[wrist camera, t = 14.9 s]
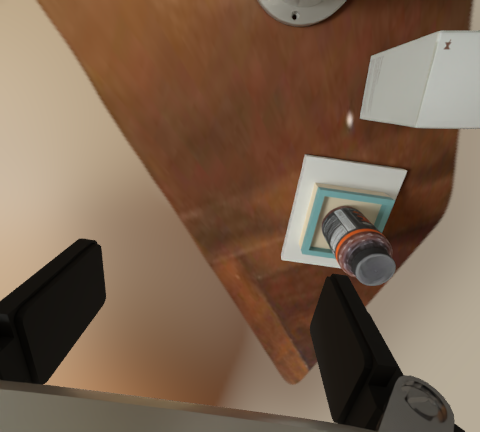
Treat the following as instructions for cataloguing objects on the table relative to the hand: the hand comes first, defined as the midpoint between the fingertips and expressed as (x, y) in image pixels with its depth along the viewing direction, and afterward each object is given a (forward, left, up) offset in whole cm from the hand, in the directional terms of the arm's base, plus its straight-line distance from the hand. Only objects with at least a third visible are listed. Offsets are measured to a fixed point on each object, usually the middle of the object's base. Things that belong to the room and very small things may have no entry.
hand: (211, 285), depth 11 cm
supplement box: (-11, +18, -28) cm, 35 cm away
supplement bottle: (+7, +16, -25) cm, 31 cm away
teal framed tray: (+7, +16, -28) cm, 33 cm away
